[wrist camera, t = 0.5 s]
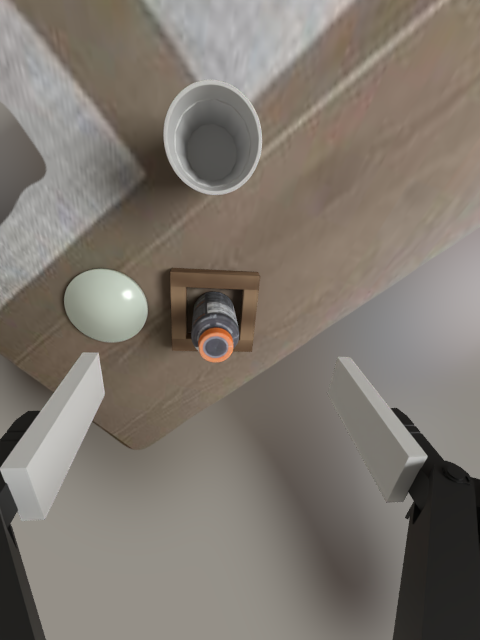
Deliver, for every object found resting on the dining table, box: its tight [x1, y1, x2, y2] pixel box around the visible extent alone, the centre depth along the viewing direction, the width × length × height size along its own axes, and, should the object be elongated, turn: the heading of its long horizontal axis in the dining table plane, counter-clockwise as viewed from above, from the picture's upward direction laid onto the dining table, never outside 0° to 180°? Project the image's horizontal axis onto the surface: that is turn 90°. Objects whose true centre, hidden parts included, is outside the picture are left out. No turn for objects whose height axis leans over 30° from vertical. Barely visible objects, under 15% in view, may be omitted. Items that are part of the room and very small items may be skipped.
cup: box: [163, 80, 262, 195], centre depth 29 cm, size 8×8×12 cm
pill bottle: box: [191, 292, 239, 362], centre depth 38 cm, size 6×6×11 cm
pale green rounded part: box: [64, 268, 148, 342], centre depth 40 cm, size 11×11×1 cm
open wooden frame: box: [170, 268, 260, 352], centre depth 42 cm, size 12×12×2 cm
